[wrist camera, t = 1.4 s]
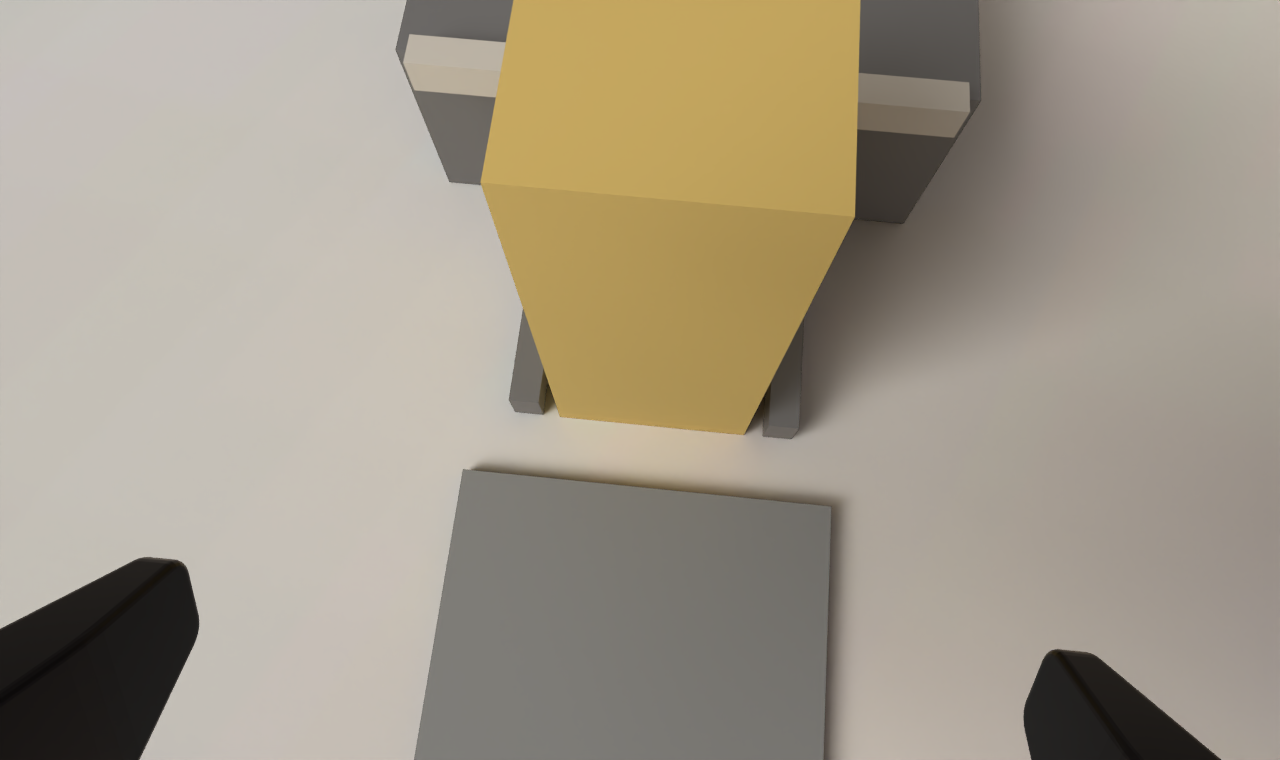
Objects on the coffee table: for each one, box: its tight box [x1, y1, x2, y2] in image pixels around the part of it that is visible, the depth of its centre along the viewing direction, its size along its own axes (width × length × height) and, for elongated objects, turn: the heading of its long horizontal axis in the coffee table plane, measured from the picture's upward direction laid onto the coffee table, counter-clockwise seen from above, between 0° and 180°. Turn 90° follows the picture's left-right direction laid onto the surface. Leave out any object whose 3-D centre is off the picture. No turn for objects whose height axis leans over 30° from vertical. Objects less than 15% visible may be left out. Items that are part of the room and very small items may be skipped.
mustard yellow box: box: [480, 0, 860, 435], centre depth 18 cm, size 4×5×12 cm
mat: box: [414, 469, 831, 760], centre depth 21 cm, size 10×10×1 cm
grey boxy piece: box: [396, 0, 981, 439], centre depth 22 cm, size 15×14×7 cm
